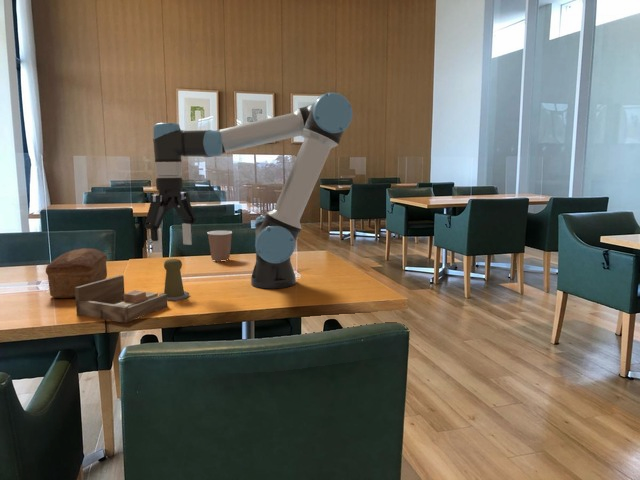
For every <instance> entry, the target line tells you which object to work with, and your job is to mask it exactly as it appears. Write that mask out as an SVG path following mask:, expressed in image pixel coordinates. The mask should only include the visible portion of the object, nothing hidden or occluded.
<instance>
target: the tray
mask: <svg viewBox="0 0 640 480" xmlns="http://www.w3.org/2000/svg"><path fill="white" fill-rule="evenodd" d="M124 278H125V277H124V275H123V274H119V275H115V276H112V277H108V278H106V279H104V280H100V281H97V282H93V283H89V284H86V285H82V286H78V287H75V297H74V298H75V308H76V309H75V311H76V315H78V316H83V317H88V318H95V319H100V320H106V321H113V322H118V323H124V324H126V323H129V322H131V321H133V320H137V319H138V317H139V318H141V316H142V317H143V315H144V316H147V315H149V314H151V312H152V313H154V312H157V311H159V310H161V309H164V308H167V307H168V301H167V294H162V295H159V294H158V296H156V297H154V298H151V299H148V300H145V301H142V302H140V303H137V304H134V305H131V306H121V305H115V304H117V303H120V302H124V293H125V279H124ZM156 310H157V311H156ZM153 311H154V312H153ZM148 313H149V314H148ZM146 314H147V315H146ZM136 318H137V319H136Z"/></svg>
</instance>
